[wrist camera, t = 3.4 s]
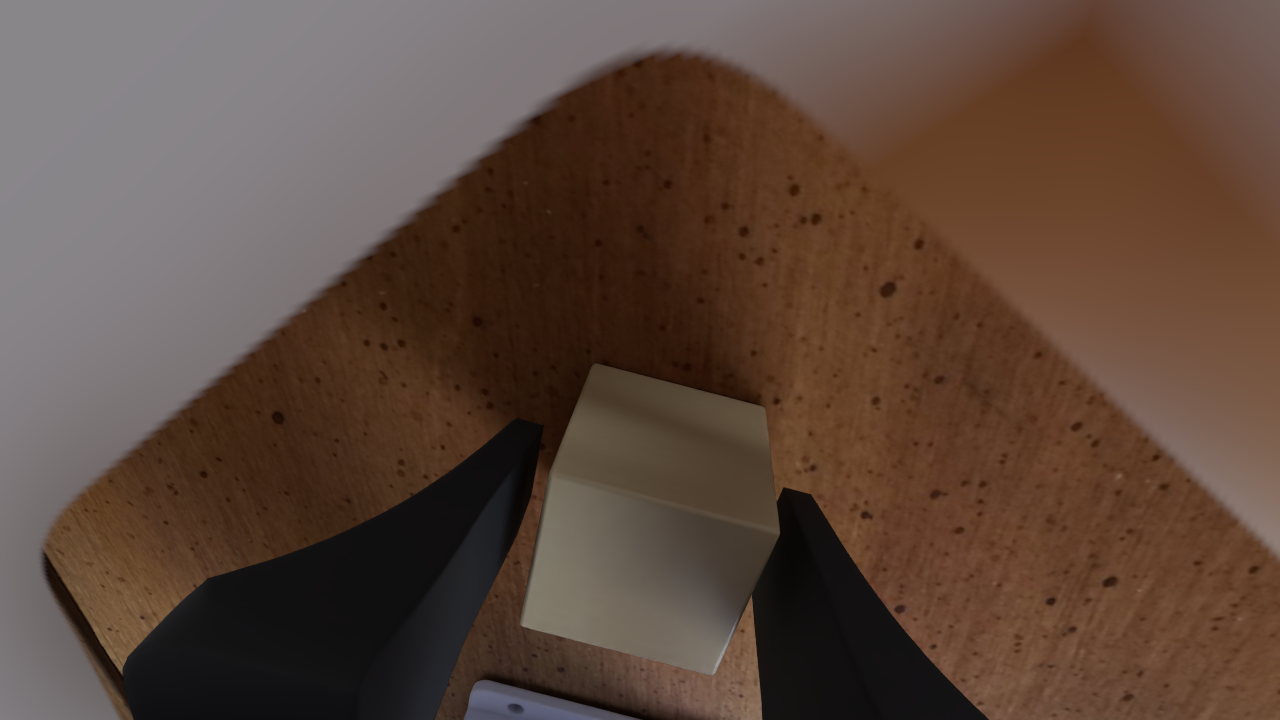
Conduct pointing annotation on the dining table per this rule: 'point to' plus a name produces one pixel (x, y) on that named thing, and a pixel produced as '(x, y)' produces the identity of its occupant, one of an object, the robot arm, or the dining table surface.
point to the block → (653, 521)
